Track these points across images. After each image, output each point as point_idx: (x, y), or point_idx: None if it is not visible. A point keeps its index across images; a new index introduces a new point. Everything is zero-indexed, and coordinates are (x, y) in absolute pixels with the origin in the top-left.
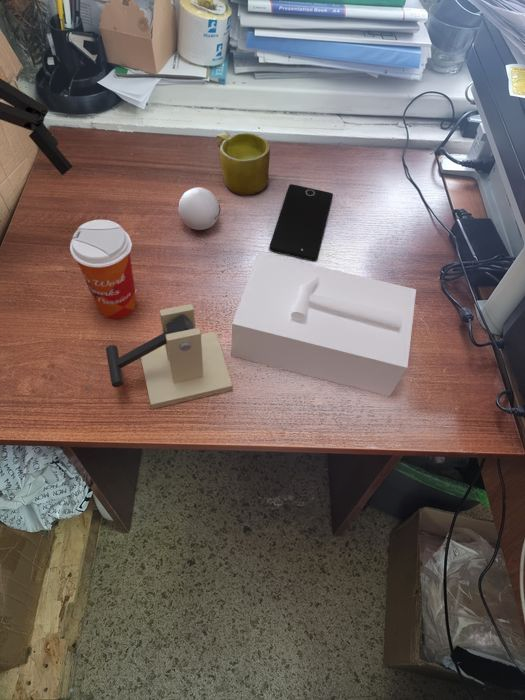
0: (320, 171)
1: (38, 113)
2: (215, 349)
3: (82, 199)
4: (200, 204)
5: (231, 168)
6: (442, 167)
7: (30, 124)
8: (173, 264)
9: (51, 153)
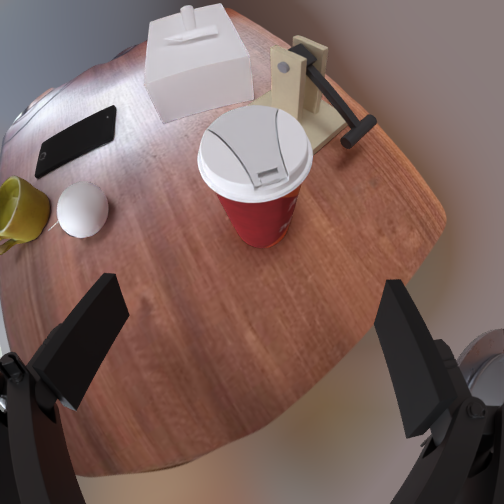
0: (20, 173)
1: (3, 388)
2: (261, 101)
3: (122, 390)
4: (81, 187)
5: (27, 205)
6: (19, 117)
7: (41, 406)
8: (166, 205)
9: (93, 328)
